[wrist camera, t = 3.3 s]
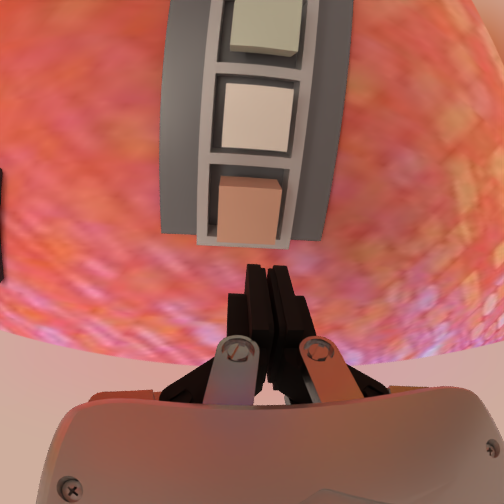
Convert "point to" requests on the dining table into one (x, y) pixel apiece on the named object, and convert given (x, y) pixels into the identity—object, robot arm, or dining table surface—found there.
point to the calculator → (0, 266)
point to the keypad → (212, 113)
